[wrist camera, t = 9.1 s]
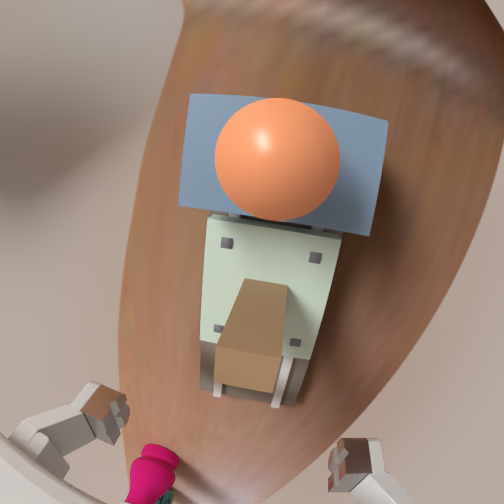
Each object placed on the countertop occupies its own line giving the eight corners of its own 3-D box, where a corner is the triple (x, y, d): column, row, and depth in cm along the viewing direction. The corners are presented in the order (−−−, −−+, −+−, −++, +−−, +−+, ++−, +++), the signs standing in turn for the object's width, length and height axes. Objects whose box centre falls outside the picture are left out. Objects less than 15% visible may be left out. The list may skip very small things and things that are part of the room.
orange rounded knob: (245, 113, 14) (222, 92, 9) (330, 126, 13) (347, 109, 9) (235, 194, 15) (208, 211, 10) (317, 207, 15) (328, 230, 10)
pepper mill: (167, 443, 35) (121, 545, 16) (190, 466, 37) (155, 560, 18) (134, 440, 36) (86, 528, 18) (156, 462, 38) (118, 546, 19)
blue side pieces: (226, 115, 20) (190, 93, 13) (355, 134, 19) (388, 121, 12) (216, 193, 22) (178, 211, 15) (342, 213, 21) (367, 241, 14)
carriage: (213, 214, 20) (153, 256, 12) (338, 234, 20) (370, 294, 11) (204, 330, 24) (163, 410, 15) (309, 348, 23) (310, 439, 14)
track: (217, 189, 22) (209, 192, 20) (343, 209, 21) (348, 214, 19) (203, 379, 29) (198, 392, 27) (294, 396, 28) (293, 410, 26)
